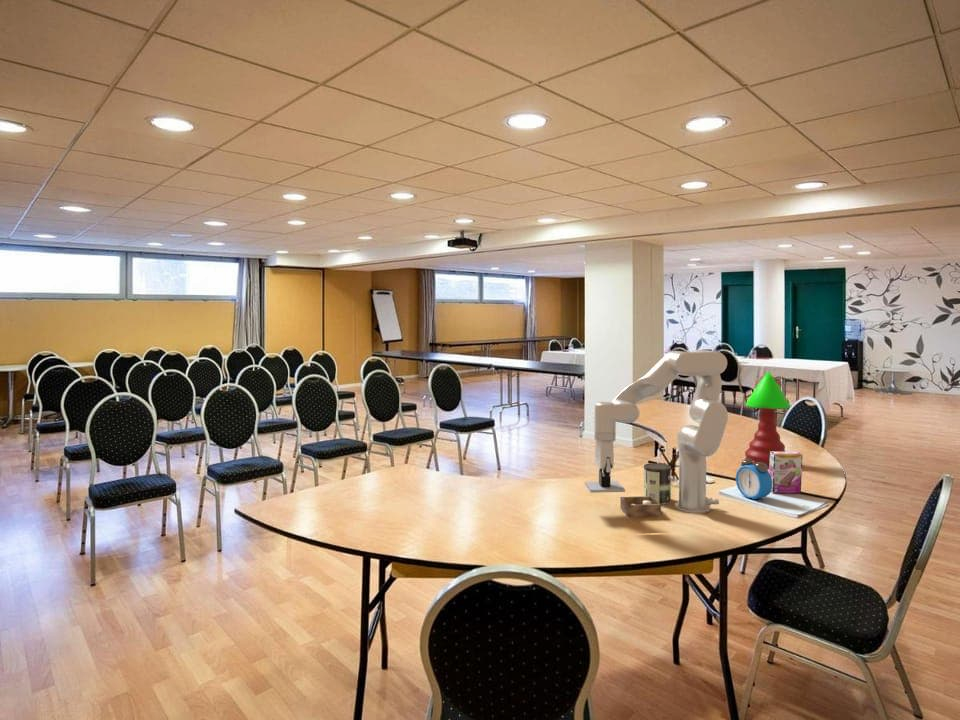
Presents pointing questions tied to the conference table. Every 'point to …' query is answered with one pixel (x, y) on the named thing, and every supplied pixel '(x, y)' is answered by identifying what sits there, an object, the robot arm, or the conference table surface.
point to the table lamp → (766, 420)
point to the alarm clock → (753, 479)
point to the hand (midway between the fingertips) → (604, 485)
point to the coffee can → (658, 482)
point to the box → (640, 506)
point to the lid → (596, 487)
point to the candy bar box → (786, 472)
